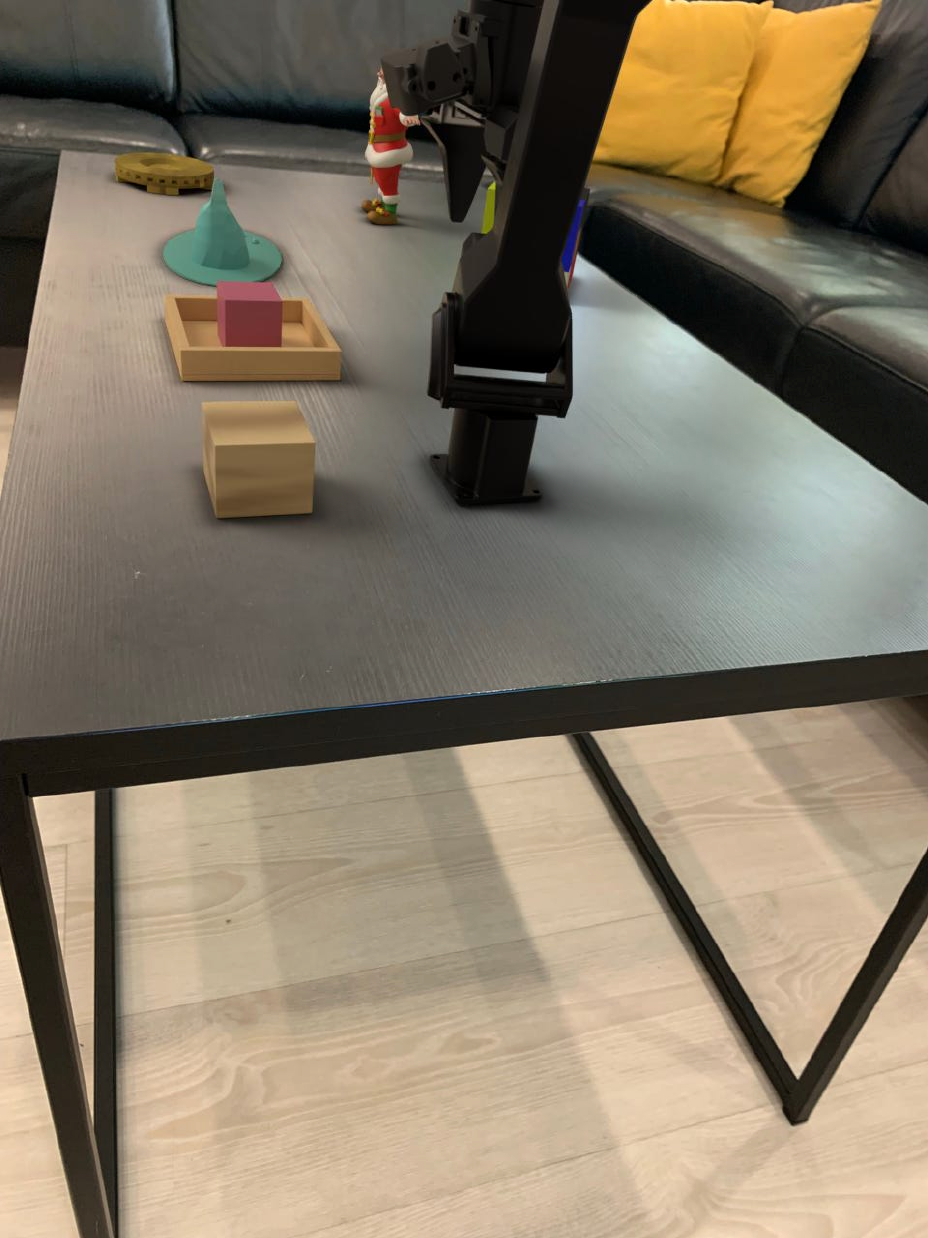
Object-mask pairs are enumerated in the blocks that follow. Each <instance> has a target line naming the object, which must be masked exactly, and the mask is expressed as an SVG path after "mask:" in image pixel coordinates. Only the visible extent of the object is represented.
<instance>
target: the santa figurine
mask: <svg viewBox="0 0 928 1238" xmlns="http://www.w3.org/2000/svg"><path fill="white" fill-rule="evenodd" d="M376 75H377V77H378V79H377V80H378V81H377V83H376V87H375V89H374V90H373V92H372V94H371V95H370V98H369V105H370V106H369V111H370V113H369V116H370V117H371V118H370V120H369V124H370V126H369V127H370V129H369V130H368V138H367V147H366V149H365V152H364V157H365V159H366V160H367V162H368V163H369V165H370V166H371V169H370V181H369V182H370V185H371V186H372V185H373V181H374V180H375V183H376V184H377V185H378V188H377V194H378V195H379V196H380V200H379V199H378V198H374V200H373V201H372V200H371V199H365V200H363V201H362V202H361V209H362V210H364V211H365V212H367V214H366V219H367V220H368V221H370V222H371V223H373V224H374V225H375V224H376V225H379V226H380V225H382V226H383V225H384V226H385V225H386V226H387V225H388V226H389V225H397V224H398V215H397V207H398V204H399V203H400V202H401V199H402V198H401V194H400V193H399V192H398V191H399V189H398V188H399V179H400V177H399V176H400V171H401V170H402V167H403V165H405V164H408V163H409V162H411V161H412V159H413V157H414V150H413V147H412V145H411V143H410V142H408V141H407V138H406V132H407V130H408V129H409V127H413V126H415V125H417V126H421V120H420V119H419V115H416V116H404V115H403V114H402V113H401V111H400V110H399V109H397V108H392V107H390V103H389V98H388V94H387V89H386V84H385V80H384V75H383V71H382V66H381V65H380V69H378V72H377V73H376Z"/></svg>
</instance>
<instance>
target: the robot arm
mask: <svg viewBox="0 0 928 1238" xmlns="http://www.w3.org/2000/svg"><path fill="white" fill-rule="evenodd" d="M652 1H653V0H468V8H467V10H463V9H457V14H455V15H453V18H452V25H451V33H450V35H446V36H443V37H440V38H436V39H430V40H427V41H423V42H420V43H416V44H413V45H410V46H407V47H404V48H400V49H396V50H394V51H390V52H388V53H385V54H383V55H381V56H380V57H379V62H380V67H381V66H382V71H383V75H384V80H385V84H386V89H387V94H388V98H389V103H390V107H392V108H397V109H399V110H400V111H401V113H402V114H403V115H404V116H416V115H418V116H419V115H420V116H419V121H420V123H421V124H422V125H423V126H425V128H427V131H428V132H429V133H430V134H431V136H432V137H433V138H434V139H435V141H436V142H437V145H438V147H439V152H440V159H441V164H442V172H443V179H444V188H445V194H446V203H447V210H448V217H449V221H450V222H452V223H458V224H460V223H463V222H464V221H465V219H466V217H467V215H468V213H469V211H470V208H471V206H472V204H473V201H474V199H475V196H476V194H477V191H478V188H479V186H480V184H481V181H482V178H483V176H484V174H485V170H486V169H488V171H489V172H490V174H491V175H492V177H493V179H494V181H495V205H494V223H493V227H492V229H491V230H490V231H489V232H488V233H487V234H484V233H482V232H475V231H471V232H470V233H469V234H468V235H467V237H466V238H465V240H464V241H463V242H462V246H461V252H460V257H459V260H458V264H457V269H456V273H455V277H454V280H453V284H452V289H451V292H450V291H444V292H443V295H442V299H441V301H440V304H439V305H438V308H437V310H435V311H434V312H433V313H432V314H431V322H430V323H431V324H430V325H431V326H430V352H429V369H428V379H427V380H428V381H427V386H426V387H427V388H426V395H427V397H429V398H431V399H433V400H435V401H438V402H439V407H440V409H441V410H442V409H445V410H449V409H453V416H452V421H451V429H450V437H449V443H448V449H447V450H448V451H447V453H433V454H431V455H430V456H429V460H428V461H429V464H430V466H431V468H432V469H433V471H434V472H435V473H436V475H437V477H438V478H439V480H440V481H441V483H442V485H443V486H444V487H445V489H446V490H447V492H448V494H449V495H450V497H451V498H452V499H453V501H454V502H455V503H456V504H458V505H462V506H463V505H464V506H465V505H480V504H481V505H482V504H484V505H485V504H498V503H502V504H503V503H514V502H516V503H517V502H519V503H520V502H535V501H537V502H538V501H541V500H542V499H543V496H544V491H543V490H542V488H540V487H539V485H538V484H537V482H536V481H535V480H534V479H533V477H532V476H531V475H530V474H529V466H530V462H531V456H532V451H533V446H534V442H535V437H536V432H537V427H538V421H539V416H545V417H556V418H557V419H566V417H567V415H568V411H569V409H570V406H571V403H572V401H573V397H574V343H573V342H574V339H573V337H574V336H573V335H574V331H573V330H574V329H573V323H574V322H573V321H574V320H573V311H572V307H571V303H570V297H569V290H568V291H567V285H566V279H565V274H564V268H563V264H562V262H561V260H562V257H563V254H564V250H565V247H566V244H567V241H568V238H569V234H570V231H571V228H572V225H573V221H574V218H575V215H576V212H577V208H578V205H579V202H580V199H581V195H582V192H583V189H584V188H585V185H586V182H587V180H588V176H589V173H590V169H591V166H592V163H593V159H594V156H595V153H596V150H597V147H598V143H599V141H600V137H601V135H602V131H603V127H604V124H605V121H606V117H607V114H608V111H609V108H610V104H611V101H612V99H613V95H614V91H615V88H616V86H617V82H618V79H619V75H620V73H621V69H622V65H623V63H624V59H625V56H626V53H627V50H628V47H629V43H630V40H631V37H632V33H633V30H634V27H635V24H636V21H637V18H638V16H639V15H640V13H641V12H642V11H643V10H644V9H645V8H647V6H648V5H649V4H651V3H652ZM424 115H425V116H424ZM455 366H456V367H461V368H471V369H483V370H492V371H503V372H504V371H505V372H515V373H525V374H527V373H528V374H537V375H544V374H545V381H540V380H529V379H521V378H520V379H519V378H510V377H509V378H507V377H498V376H497V377H496V376H484V375H473V374H464V373H463V374H462V373H455Z"/></svg>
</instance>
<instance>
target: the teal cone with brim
mask: <svg viewBox="0 0 928 1238" xmlns="http://www.w3.org/2000/svg"><path fill="white" fill-rule="evenodd" d="M224 186H225V185H224V180H223V179H221V178H220V177H219V178H214V182H213V188H212V190H211V194H210V200H209V201H208V202H207V203H205V204H204V205H203V206H201V208H200V212H199V214H198V216H197V219H196V224H195V229H191V230H187V231H185V232H183V233H180V234H178V235H176V236H175V237H173V238H171V239H170V240H168V241H167V243H166V244H165V245H164V247H163V252H162V258H163V260H164V262H165V265H166V266H167V267H168V268H169V269H170V270H171V271H172V272H173V273H174V274H175V275H177V276H179V277H181V278H183V279H185V280H188V281H190V282H194V283H196V284H199V285H200V284H201V285H205V286H212V287H217V281H238V282H264V281H266V280H267V279H270V278H271V277H273V276H274V275H275V274H276V273H277V272H278V271H279V270H280V267H281V264H282V263H283V258H282V253H281V251H280V250H279V249H278V247H277V246H276V245H275V244H273V243H272V242H271V241H269V240H268V239H266V238H265V237H262V236H260V235H258V234H256V233H252V232H248V231H246V230H244V229H243V228H242V227H241V225H240V224H239V222H238V221H237V219H236V217H235V215H234V214H233V212H232V210H231V208H230V206H229V205H228V201H227V197H226V192H225V191H226V190H225V187H224Z"/></svg>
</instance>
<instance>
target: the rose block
mask: <svg viewBox="0 0 928 1238" xmlns="http://www.w3.org/2000/svg"><path fill="white" fill-rule="evenodd" d="M216 296H217V327H218V337H219V339H220V342H221V345H222V347H282V309H283V301H282V299H281V298H280V297H281V296H280V293H279V292H278V290H277V288H276V286H275V285H274V283H273V282H264V281H261V282H238V281H217V286H216Z"/></svg>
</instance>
